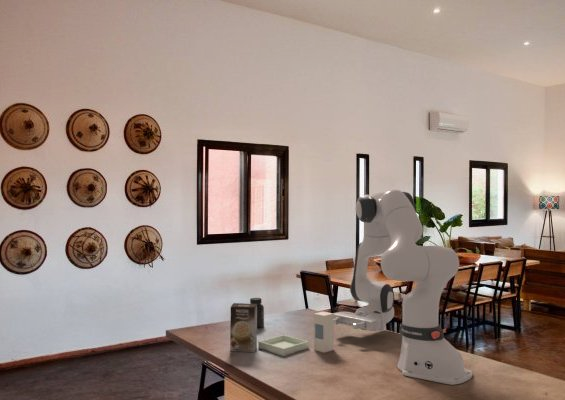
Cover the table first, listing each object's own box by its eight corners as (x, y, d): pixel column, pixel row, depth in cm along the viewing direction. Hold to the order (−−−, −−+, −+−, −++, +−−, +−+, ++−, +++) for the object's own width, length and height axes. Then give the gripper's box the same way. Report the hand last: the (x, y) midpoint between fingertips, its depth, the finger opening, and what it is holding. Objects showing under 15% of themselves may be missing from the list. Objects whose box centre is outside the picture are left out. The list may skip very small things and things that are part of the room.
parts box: (333, 349, 175) (333, 313, 175) (324, 352, 172) (324, 315, 172) (323, 346, 179) (322, 311, 179) (313, 349, 175) (313, 313, 175)
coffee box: (229, 351, 173) (229, 306, 173) (232, 346, 179) (232, 302, 180) (254, 352, 172) (254, 307, 172) (257, 347, 179) (257, 303, 179)
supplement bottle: (257, 323, 213) (257, 296, 213) (267, 326, 208) (267, 298, 208) (244, 326, 209) (244, 298, 209) (254, 329, 204) (254, 300, 204)
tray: (308, 348, 177) (308, 341, 177) (283, 356, 168) (283, 348, 168) (283, 341, 186) (283, 334, 186) (258, 348, 177) (258, 341, 177)
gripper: (344, 306, 201) (322, 311, 191) (387, 314, 186) (366, 320, 177) (344, 321, 201) (323, 327, 191) (387, 330, 186) (366, 337, 176)
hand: (344, 324), depth 184 cm, fingers open, 8 cm apart
